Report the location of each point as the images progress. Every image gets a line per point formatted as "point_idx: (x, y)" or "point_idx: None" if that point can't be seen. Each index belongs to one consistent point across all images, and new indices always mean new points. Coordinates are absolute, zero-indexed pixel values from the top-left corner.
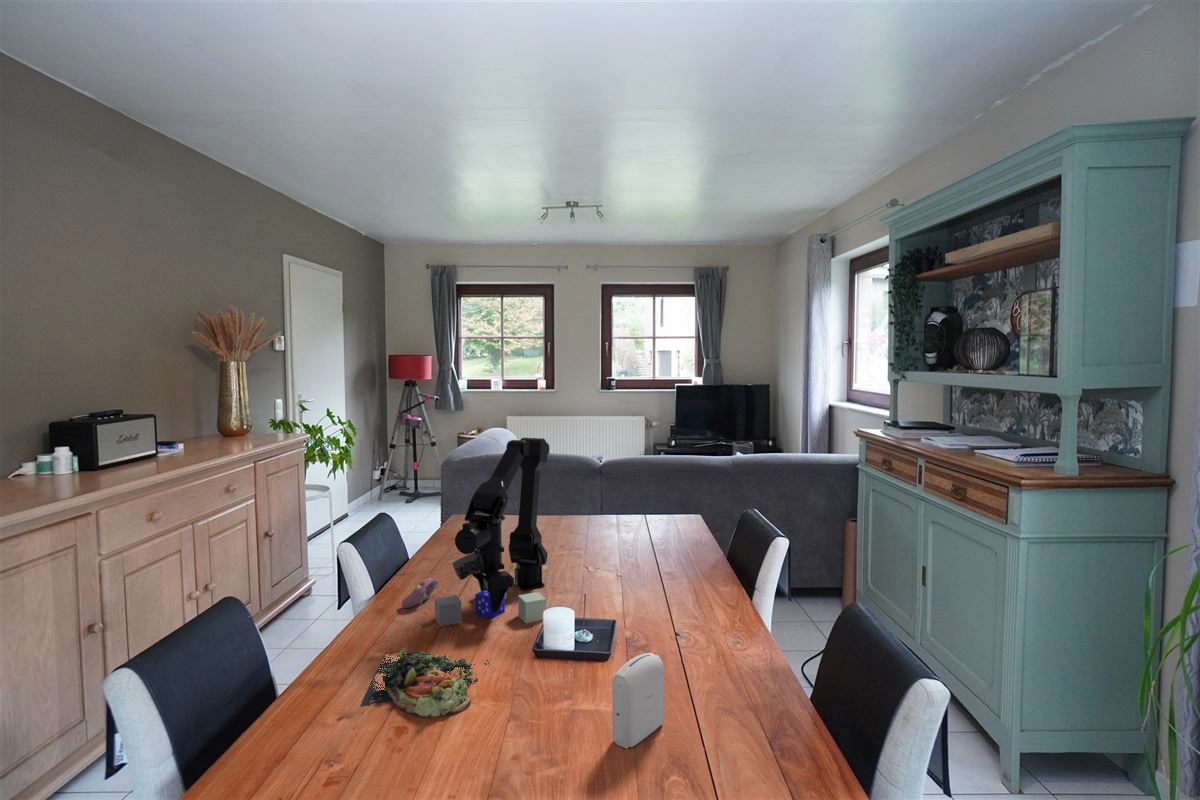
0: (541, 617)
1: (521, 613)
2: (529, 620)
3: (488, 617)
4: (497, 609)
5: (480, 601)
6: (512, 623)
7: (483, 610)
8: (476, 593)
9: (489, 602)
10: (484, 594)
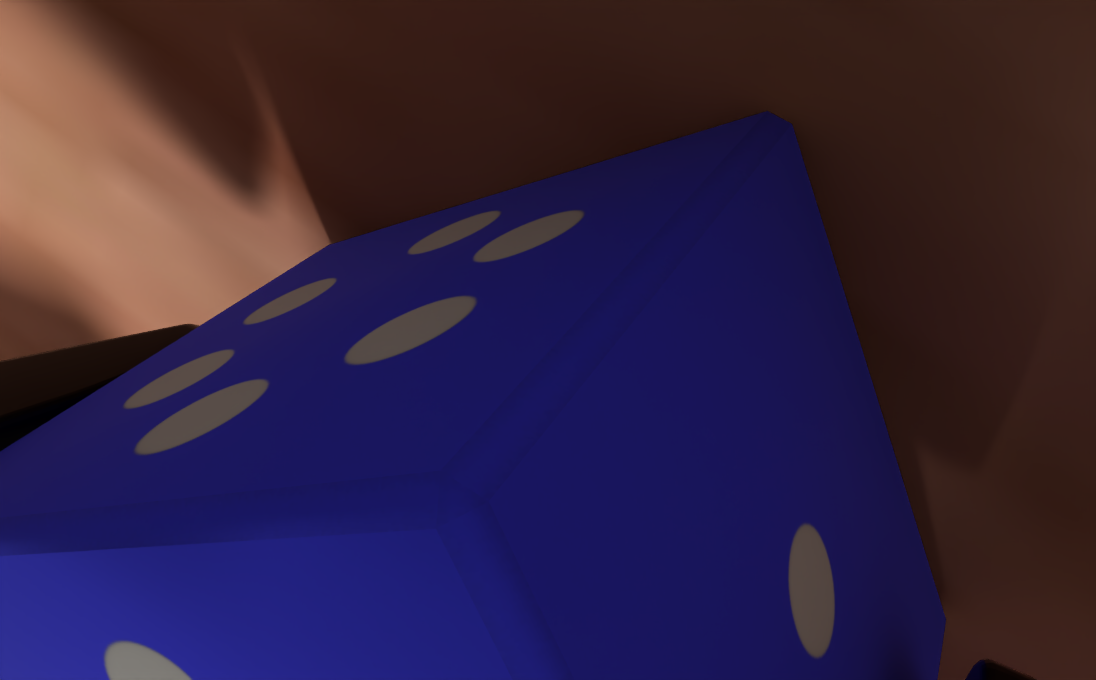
0: None
1: None
2: None
3: (385, 230)
4: None
5: (353, 355)
6: None
7: (427, 253)
8: (449, 579)
9: (38, 432)
10: (181, 667)
